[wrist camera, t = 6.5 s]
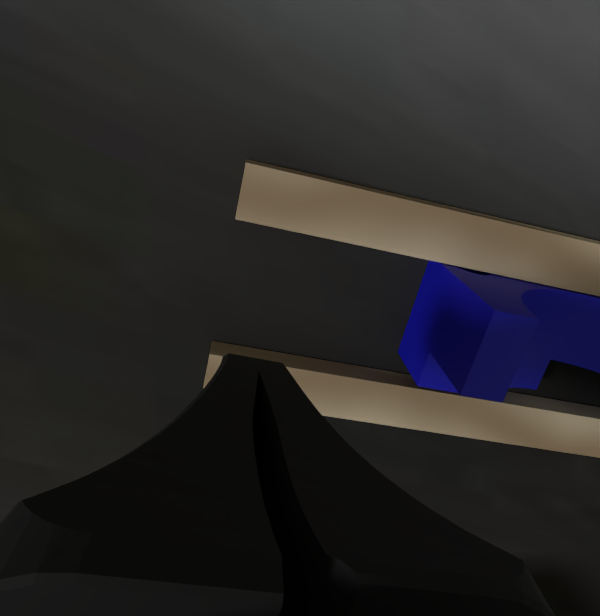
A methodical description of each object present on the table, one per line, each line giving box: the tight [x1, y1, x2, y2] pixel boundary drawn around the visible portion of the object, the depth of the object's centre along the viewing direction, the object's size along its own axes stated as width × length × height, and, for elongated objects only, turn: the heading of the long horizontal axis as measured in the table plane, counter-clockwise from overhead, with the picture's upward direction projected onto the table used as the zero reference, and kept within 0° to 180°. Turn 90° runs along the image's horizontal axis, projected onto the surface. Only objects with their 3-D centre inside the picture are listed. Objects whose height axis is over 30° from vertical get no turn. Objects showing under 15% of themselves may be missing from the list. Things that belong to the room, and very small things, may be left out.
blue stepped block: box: [398, 260, 600, 402], centre depth 20 cm, size 12×4×6 cm, turn 77°
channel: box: [203, 159, 600, 458], centre depth 20 cm, size 10×21×4 cm, turn 77°
